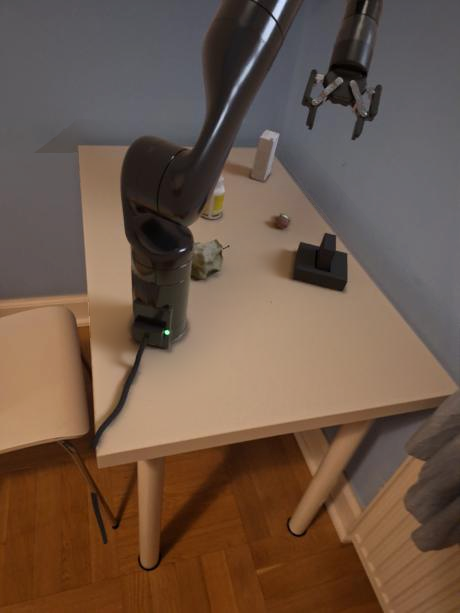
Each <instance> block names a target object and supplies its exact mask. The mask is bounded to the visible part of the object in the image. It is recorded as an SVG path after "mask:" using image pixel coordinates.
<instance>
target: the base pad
mask: <svg viewBox="0 0 460 613" xmlns="http://www.w3.org/2000/svg"><path fill="white" fill-rule="evenodd" d="M319 247H320V245H315V244H311V243H308V242H303V241H299V244H298V246H297V250H296V254H295V262H294V269H293V275H292V279H293V280H296V281H299V282H304V283H308V284H312V285H315V286H320V287H324V288H328V289H331V290H335V291H340V292H344V290H345V288H346V285H347V284H348V282H349V281H348V280H349V279H348V276H349V275H348V270H349V268H348V253H347V252H345V251H340V250H336V252H335V255H334V257H333V259H332V262H331V264H330V267H329V269H328V271H327V272H326V271H322V270H318V269H314V268H315V257H316V255H317V252H318V249H319Z"/></svg>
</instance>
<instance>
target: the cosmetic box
mask: <svg viewBox="0 0 460 613" xmlns="http://www.w3.org/2000/svg"><path fill="white" fill-rule="evenodd" d="M279 137H280V133H279V132H275V131H272V130H270V129H265V130H264V131H263V132H262V134H261V135H260V136H259V139H258V144H257V148H256V151H255V156H254V160H253V164H252V170H251V173H250V178H252V179H254V180H257V181H261V182H265V180H266V179H267V178H268V176H269V175H270V173H271V169H272V166H273V162H274V158H275V155H276V154H275V153H276V150H277V146H278V143H279Z"/></svg>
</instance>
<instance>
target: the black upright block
mask: <svg viewBox="0 0 460 613" xmlns="http://www.w3.org/2000/svg"><path fill="white" fill-rule="evenodd" d="M319 246H320V247H319V249H318V252H317V255H316V257H315V268H314V269H318V270H322V271H326V272H327V271H328V269H329V267H330V264H331V262H332V259H333V257H334V255H335V252H336V251H337V234H332V233H329V232H324V233H323V237H322V239H321V242H320V245H319Z"/></svg>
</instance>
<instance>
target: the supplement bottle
mask: <svg viewBox="0 0 460 613" xmlns="http://www.w3.org/2000/svg"><path fill="white" fill-rule="evenodd" d="M225 190H226V188H225V185H224V176H223V175H222V174H221V175H220V178H219V180H218V183H217V185H216V187H215V190H214V192H213V194H212V197H211V199H210V201H209V203H208V205H207V207H206V208H205V210H204V212H203V213H202V215H201V217H203V218H205V219H211V220H215V219H219V218H220V217H221V215H222V214H223V206H224V198H225V192H226V191H225Z"/></svg>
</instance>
